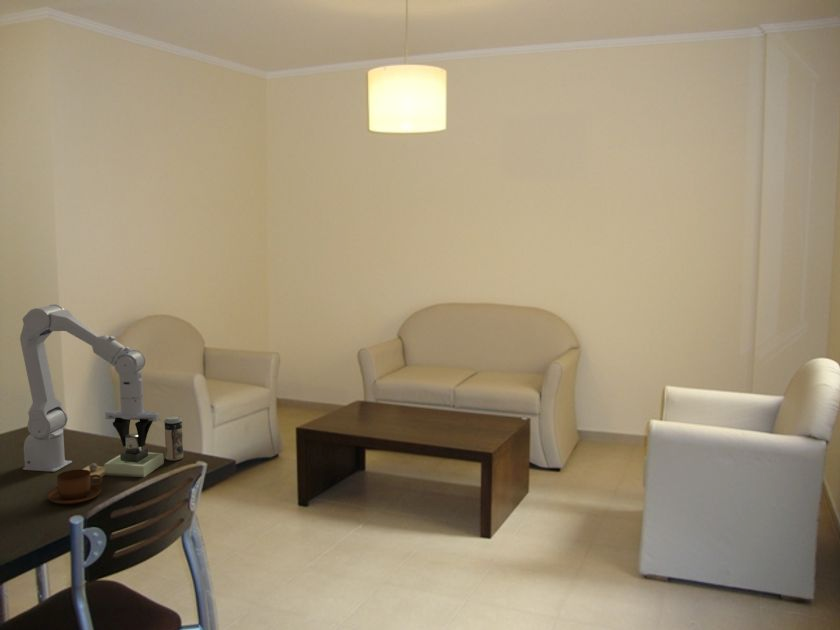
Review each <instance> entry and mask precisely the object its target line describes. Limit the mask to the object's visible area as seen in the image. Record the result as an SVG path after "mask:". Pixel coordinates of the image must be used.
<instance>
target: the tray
mask: <svg viewBox="0 0 840 630" xmlns="http://www.w3.org/2000/svg"><path fill="white" fill-rule="evenodd" d="M164 460H165V459H164V453H163V452H151V451H150V452H149V451H148V456H147V457H145V458H144V459H142V460H140V461H139V462H137V463H136V462H128V461H121V458H120V454H119V455H117V456H115V457H113V458H112V459H110V460H108V461H107V462H105V463H104V465H103V466H104V468H105V475H104V476H115V477H130V478H131V477H133V478H134V477H135V478H145V477H147V476H148V475H149V474H151V473H152V472H154V471H155V470H156V469H158V468H159V467H161V466H163V465H164V464H165V463H164Z"/></svg>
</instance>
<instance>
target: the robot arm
mask: <svg viewBox="0 0 840 630" xmlns="http://www.w3.org/2000/svg"><path fill="white" fill-rule="evenodd" d="M22 322H23V326H22V329H21V333H20V336H19V341H20V346H21V349H22V350H21V351H22V355H23V356H22V357H23V360H24V365H25V371H26V375H27V379H28V380H27V381H28V385H29V391H30V394H31V400H32V404H31V406H30V408H29V410H28V413H27V414H28V420H27V421H28V422H27V430H28V432H29V433H30V434H29V435H28V436H27V437H26V438H25V439H24V442H23V459H24V467H23V468H22V470H24V471H36V472H37V471H38V472H54V473H55V472H57V471H58V470H59V471H60V469H62V468H65V467H66V466H68V465H70V464H72V463H73V460H66V457H65V456H66V455H65V442H64V441H65V440H64V427H66V425H67V423H68V414H67V412H66V411H65V410H64V407H63V406H62V402H61V401H60V399H57V398H56V396H55V391H54V387H53V380H52V375H51V371H50V370H51V369H50V367H49V366H50V365H49V361H48V356H47V351H46V346H45V341H46V340H47V338H48V337H49V336H51V334H52V333H53V332H67V333H69V334H70V335H72V336H74V337H76V338H78V339H79V340H81V341H82V342H84V343H85V344H88V345H89V346H91V347H92V352H93V353H94V355H95V354H96V356H98V357H100V358H102V359H103V360H105V361H106V362H107V363H109V364H111V365H112V366H113V367H114V369H115V371H116V372H117V373H118V376H119V394H120V397H119V398H120V409H119V410H107V411H105V412H104V413H105V420H112V419H114V421H113V422H112V426H113V427H114V428H115V430H116V432H117V433H118V435H119V439H120V441H121V443H122V446H123V447H126V444H125V436H126V435H128V434H130V427H131V426H130V424H131V420H132V421H136V422H134V425H135V428H136V433H138V445H139V447H142V448H144V446H146V441H147V437H148V434H149V431H150V428H151V426H152V424H153V423H154V422H158V421H160V420H161V414H160V412H155V411H154V412H153V411H149V410H144V408H145V407H144V384H143V383H144V382H143V380H144V379H143V370H142V369H144V367H145V365H146V358H145V356H144V354H143V353H142V352H140V350H137V349H131V348H130V347H129V346H125V345H124V344H122V343H120V342H119V341H118V340H116V337H115V336H113V335H110V336H109V335H108V334H105V335H100V334H98V332H96V331H95V330H93V329H92V328H91V327H89V326H88V325H87V324H85V323H83V322H82V321H81V320H80V319H78V318H77V317H76V316H74V315H73V314H72V313H71V311H70V310H68V309H64V307H63V306H61V305H60V304H53V303H52V304H49V305H47V306H42V307H39V308H37V307H36V308H31V309H30V310H29V311H28V312H27V313H26V314H25V315H24V316H23V318H22Z"/></svg>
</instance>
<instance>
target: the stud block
mask: <svg viewBox="0 0 840 630" xmlns="http://www.w3.org/2000/svg"><path fill="white" fill-rule="evenodd" d="M82 470H88V471H90V476H91V475H95V474H97V475H100V476H101V478H103V477H104V476H106V475H105V468H104V465H103V466H102V465H101V466H100V465H98V464H97V463H95V462H93V463H90V464H89V465H87V466H86V467H84V468H82ZM92 479H97V480H99V478H98V477H93V478H92Z"/></svg>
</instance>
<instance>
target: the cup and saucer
mask: <svg viewBox="0 0 840 630" xmlns="http://www.w3.org/2000/svg"><path fill="white" fill-rule="evenodd" d="M82 469H83V468H82ZM82 469H81V468H80V469H70V470H66V471H63V472H61V473H59V474H57V476H56V478H57V479H56V480H57V487H55V488H53V489H51V490H50V491H48V493H47V495H46V497H47V499H49V500H50V502H53V503H55V504H59V505H60V504H61V505H72V504H73V505H74V504H79V503H80V504H81V503H83V502H88V501H90V500H92V499H94V498H95V497H97V496H99V494H100V493H101V492H102V486H101V485H102V484H101V483H102V482H103V477H101V476H100V475H97V474H95V475H91V476H90V471H88V470H82ZM93 477H98V478H99V479H98V482H95V483H94V482H91V480H92V479H93Z"/></svg>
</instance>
